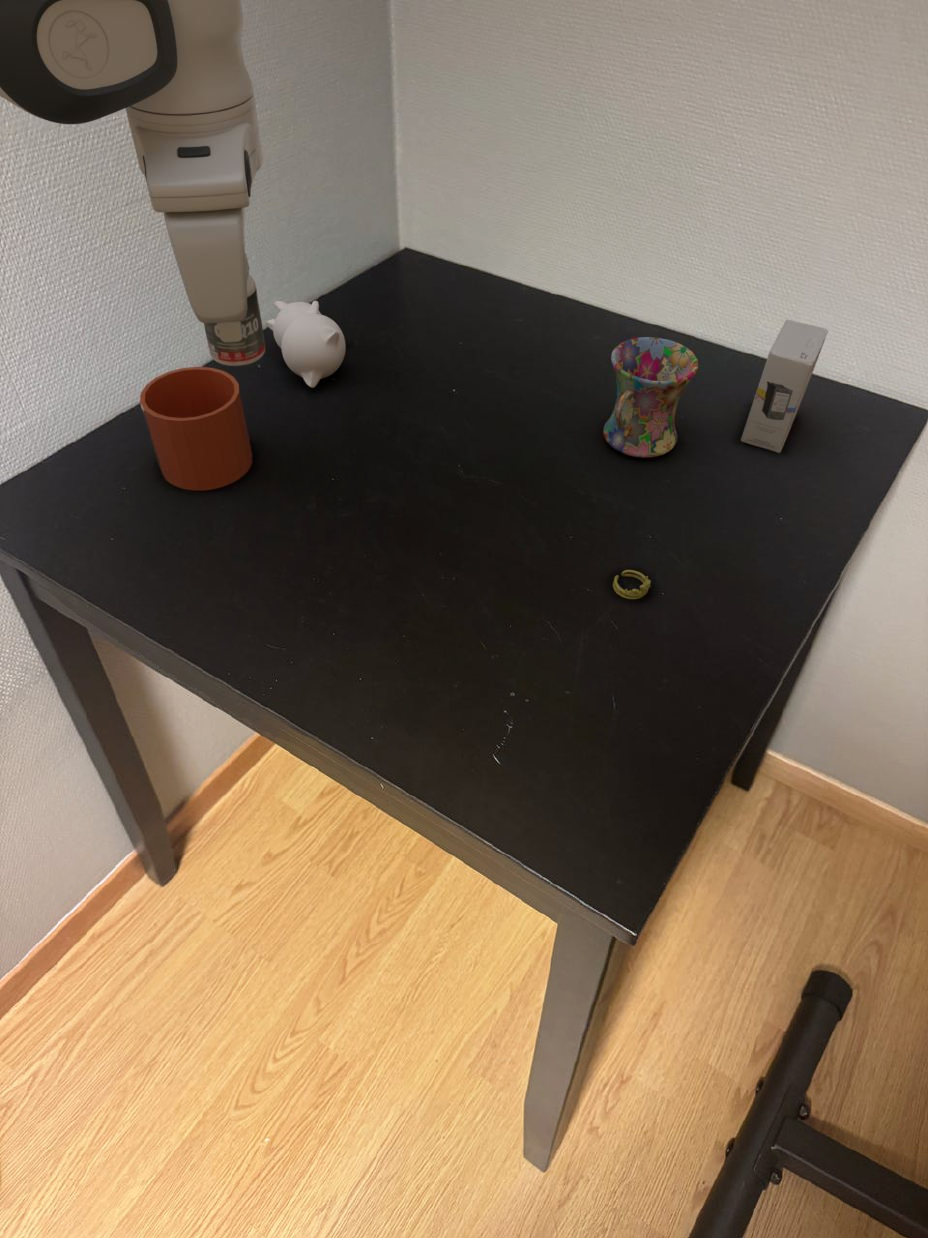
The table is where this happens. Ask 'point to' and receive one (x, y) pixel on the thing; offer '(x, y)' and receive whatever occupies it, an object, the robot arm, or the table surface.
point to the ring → (635, 592)
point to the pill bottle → (252, 332)
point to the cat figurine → (308, 340)
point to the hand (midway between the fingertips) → (231, 319)
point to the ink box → (783, 384)
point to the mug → (648, 395)
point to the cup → (197, 427)
